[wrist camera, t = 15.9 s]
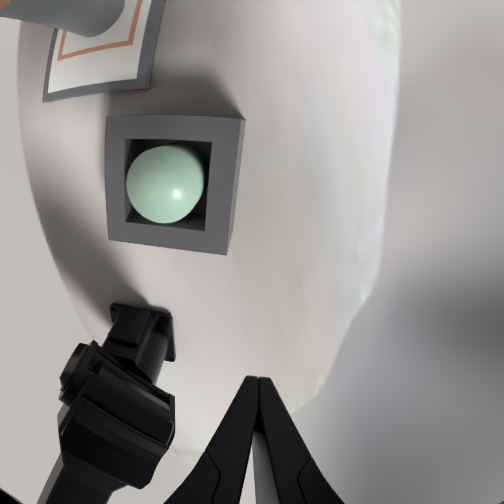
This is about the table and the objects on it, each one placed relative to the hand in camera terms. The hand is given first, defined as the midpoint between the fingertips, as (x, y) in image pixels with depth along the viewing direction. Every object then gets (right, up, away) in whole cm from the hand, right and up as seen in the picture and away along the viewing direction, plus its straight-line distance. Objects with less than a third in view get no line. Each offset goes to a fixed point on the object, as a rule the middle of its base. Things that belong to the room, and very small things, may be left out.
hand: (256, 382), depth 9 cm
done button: (-5, +9, +8) cm, 14 cm away
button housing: (-5, +10, +10) cm, 15 cm away
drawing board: (-11, +23, +4) cm, 26 cm away
